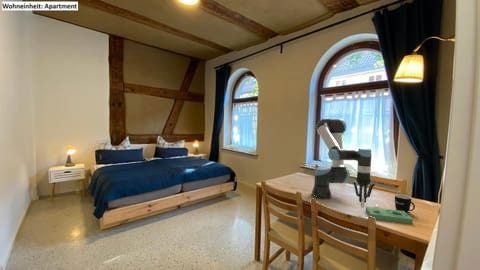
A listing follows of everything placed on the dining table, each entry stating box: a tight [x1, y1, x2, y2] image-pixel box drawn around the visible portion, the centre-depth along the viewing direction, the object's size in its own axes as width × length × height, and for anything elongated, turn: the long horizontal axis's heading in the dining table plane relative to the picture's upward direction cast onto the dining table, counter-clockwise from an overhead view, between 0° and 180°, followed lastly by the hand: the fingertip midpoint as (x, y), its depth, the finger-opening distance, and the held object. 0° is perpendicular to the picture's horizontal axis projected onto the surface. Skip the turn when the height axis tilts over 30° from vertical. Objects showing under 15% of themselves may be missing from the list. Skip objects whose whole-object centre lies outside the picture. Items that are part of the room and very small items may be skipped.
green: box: [365, 206, 414, 225], centre depth 136 cm, size 22×12×3 cm, turn 73°
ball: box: [373, 204, 382, 212], centre depth 137 cm, size 4×4×4 cm
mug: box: [394, 193, 416, 214], centre depth 144 cm, size 12×9×10 cm
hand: (362, 206), depth 140 cm, fingers closed
